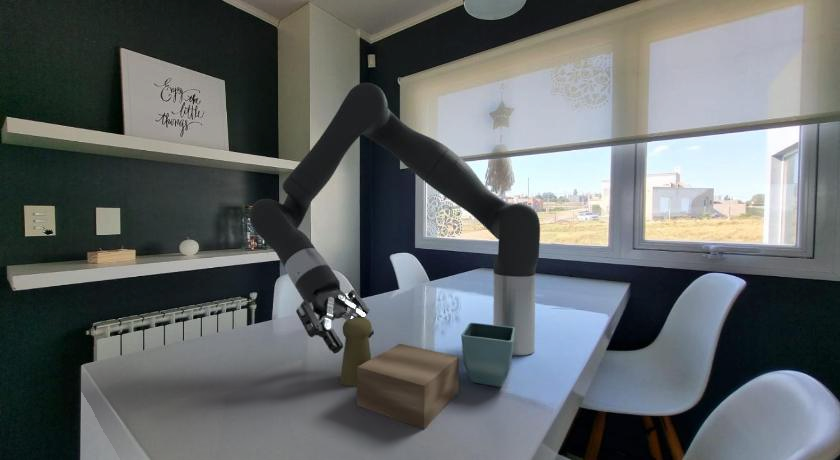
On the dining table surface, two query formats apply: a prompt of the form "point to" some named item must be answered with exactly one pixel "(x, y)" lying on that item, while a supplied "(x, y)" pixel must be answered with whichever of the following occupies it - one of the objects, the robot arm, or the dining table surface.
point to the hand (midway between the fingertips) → (355, 343)
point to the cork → (355, 349)
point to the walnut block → (408, 384)
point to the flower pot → (487, 352)
